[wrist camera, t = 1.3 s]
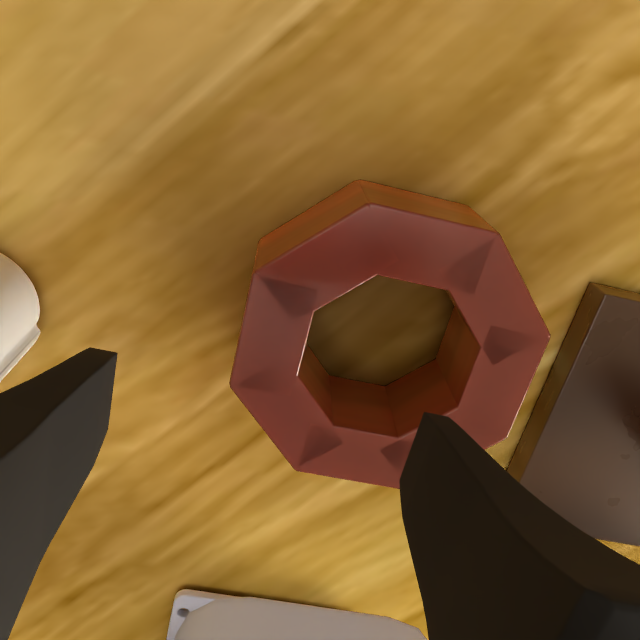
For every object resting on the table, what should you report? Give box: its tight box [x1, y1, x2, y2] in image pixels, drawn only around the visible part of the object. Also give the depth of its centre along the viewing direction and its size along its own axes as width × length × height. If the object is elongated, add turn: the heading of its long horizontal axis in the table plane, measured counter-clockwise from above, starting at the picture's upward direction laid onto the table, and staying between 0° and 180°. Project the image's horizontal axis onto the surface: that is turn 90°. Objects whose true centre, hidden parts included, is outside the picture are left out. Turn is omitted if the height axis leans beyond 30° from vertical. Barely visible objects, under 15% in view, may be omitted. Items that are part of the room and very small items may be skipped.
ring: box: [229, 180, 550, 489], centre depth 20 cm, size 9×9×3 cm
